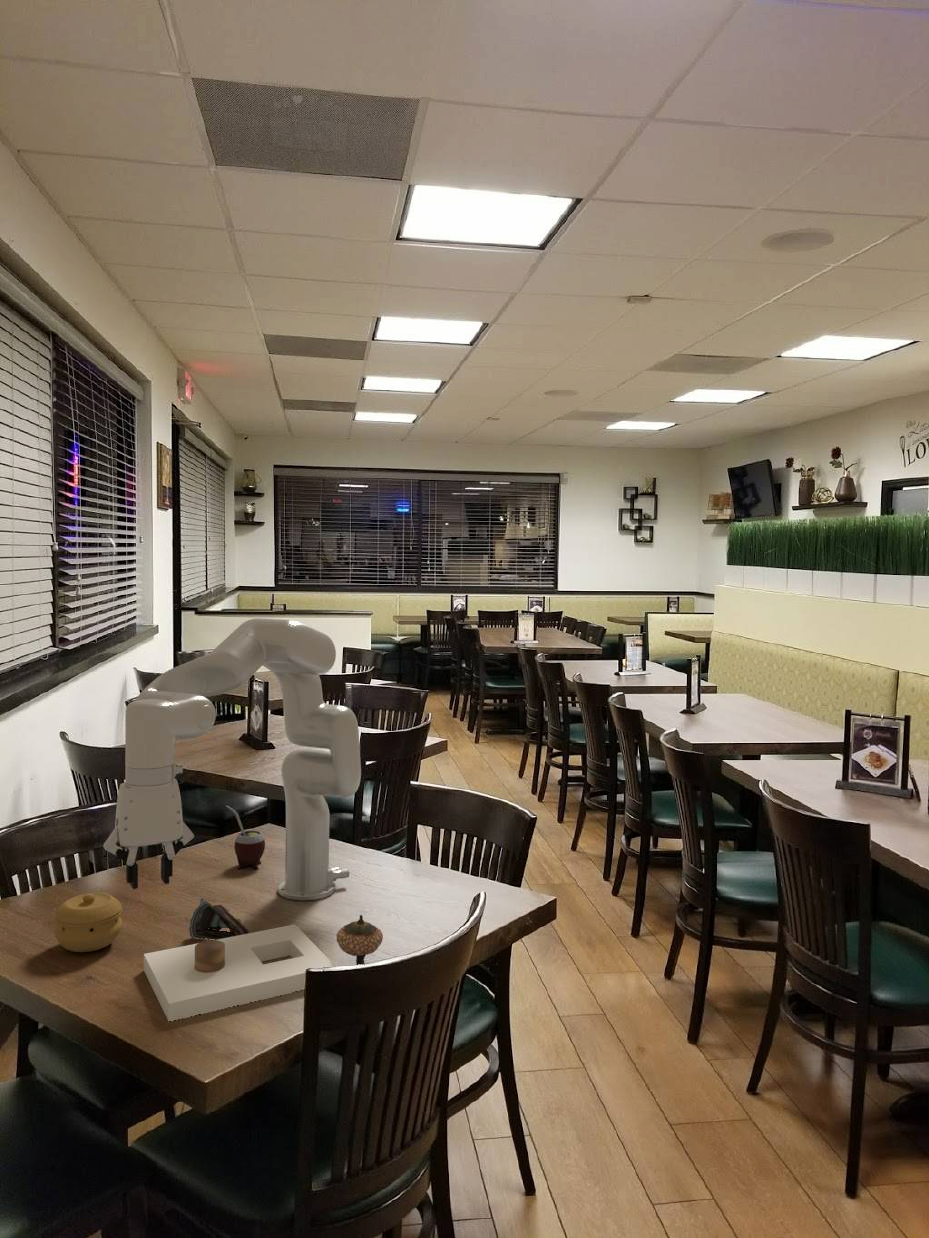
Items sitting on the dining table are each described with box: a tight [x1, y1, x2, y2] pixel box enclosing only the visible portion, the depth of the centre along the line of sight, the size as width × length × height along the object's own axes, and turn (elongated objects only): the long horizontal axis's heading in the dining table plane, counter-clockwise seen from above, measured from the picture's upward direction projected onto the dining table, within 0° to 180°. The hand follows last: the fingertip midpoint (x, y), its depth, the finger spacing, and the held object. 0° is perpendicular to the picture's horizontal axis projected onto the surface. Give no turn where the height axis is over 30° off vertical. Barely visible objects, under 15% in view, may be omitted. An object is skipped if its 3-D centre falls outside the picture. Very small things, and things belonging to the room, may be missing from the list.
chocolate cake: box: [188, 898, 250, 940], centre depth 173 cm, size 10×7×12 cm
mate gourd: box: [225, 805, 266, 871], centre depth 210 cm, size 8×8×15 cm
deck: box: [143, 924, 335, 1022], centre depth 155 cm, size 28×20×3 cm
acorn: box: [335, 914, 384, 966], centre depth 159 cm, size 8×8×10 cm
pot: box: [53, 892, 123, 953], centre depth 165 cm, size 12×12×10 cm
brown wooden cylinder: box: [195, 940, 225, 973], centre depth 152 cm, size 5×5×4 cm
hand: (149, 882), depth 146 cm, fingers open, 4 cm apart
